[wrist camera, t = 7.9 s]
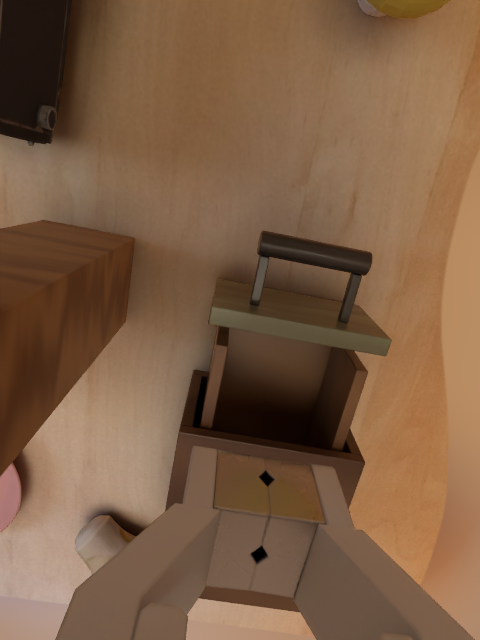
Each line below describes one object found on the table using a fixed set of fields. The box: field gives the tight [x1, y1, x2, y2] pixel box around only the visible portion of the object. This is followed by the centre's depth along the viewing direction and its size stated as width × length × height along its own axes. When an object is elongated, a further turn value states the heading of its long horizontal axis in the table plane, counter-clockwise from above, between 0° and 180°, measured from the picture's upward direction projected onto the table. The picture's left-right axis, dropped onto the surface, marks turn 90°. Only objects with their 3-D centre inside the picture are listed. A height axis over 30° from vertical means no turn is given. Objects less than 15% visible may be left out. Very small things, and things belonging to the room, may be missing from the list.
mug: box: [75, 515, 136, 575], centre depth 38 cm, size 8×10×10 cm
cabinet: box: [165, 370, 365, 612], centre depth 33 cm, size 15×13×9 cm
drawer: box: [198, 231, 392, 452], centre depth 29 cm, size 18×11×7 cm, turn 169°
